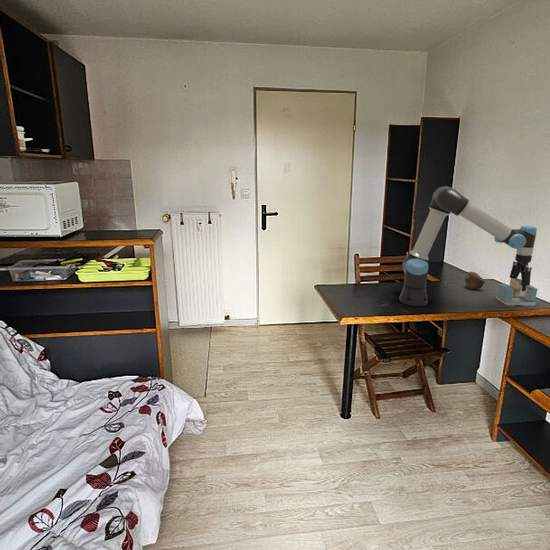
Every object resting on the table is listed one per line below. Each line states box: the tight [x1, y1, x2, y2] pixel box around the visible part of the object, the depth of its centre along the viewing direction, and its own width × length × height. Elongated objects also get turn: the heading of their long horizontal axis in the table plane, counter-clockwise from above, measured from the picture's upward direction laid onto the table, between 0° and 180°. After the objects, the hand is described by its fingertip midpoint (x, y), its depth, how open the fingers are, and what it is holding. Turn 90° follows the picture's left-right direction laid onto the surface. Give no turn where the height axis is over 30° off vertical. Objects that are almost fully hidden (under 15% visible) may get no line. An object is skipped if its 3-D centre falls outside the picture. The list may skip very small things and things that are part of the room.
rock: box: [464, 271, 486, 290], centre depth 248 cm, size 12×10×10 cm
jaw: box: [496, 283, 514, 302], centre depth 224 cm, size 4×9×8 cm, turn 179°
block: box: [508, 278, 527, 297], centre depth 223 cm, size 5×8×8 cm, turn 179°
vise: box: [495, 284, 538, 307], centre depth 224 cm, size 16×11×10 cm
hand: (516, 293), depth 224 cm, fingers closed on block, 8 cm apart
